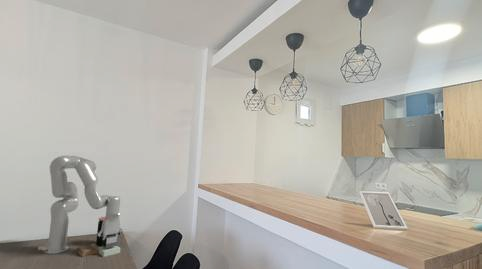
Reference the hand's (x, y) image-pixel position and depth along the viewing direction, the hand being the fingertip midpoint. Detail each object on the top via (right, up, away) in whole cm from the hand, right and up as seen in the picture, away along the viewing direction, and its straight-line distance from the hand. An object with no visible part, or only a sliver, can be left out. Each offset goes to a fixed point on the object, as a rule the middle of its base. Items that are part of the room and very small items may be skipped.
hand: (109, 244), depth 162 cm
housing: (0, -1, 0) cm, 1 cm away
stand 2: (0, -5, 0) cm, 5 cm away
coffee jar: (-10, -6, +13) cm, 17 cm away
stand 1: (-12, -4, -2) cm, 13 cm away
